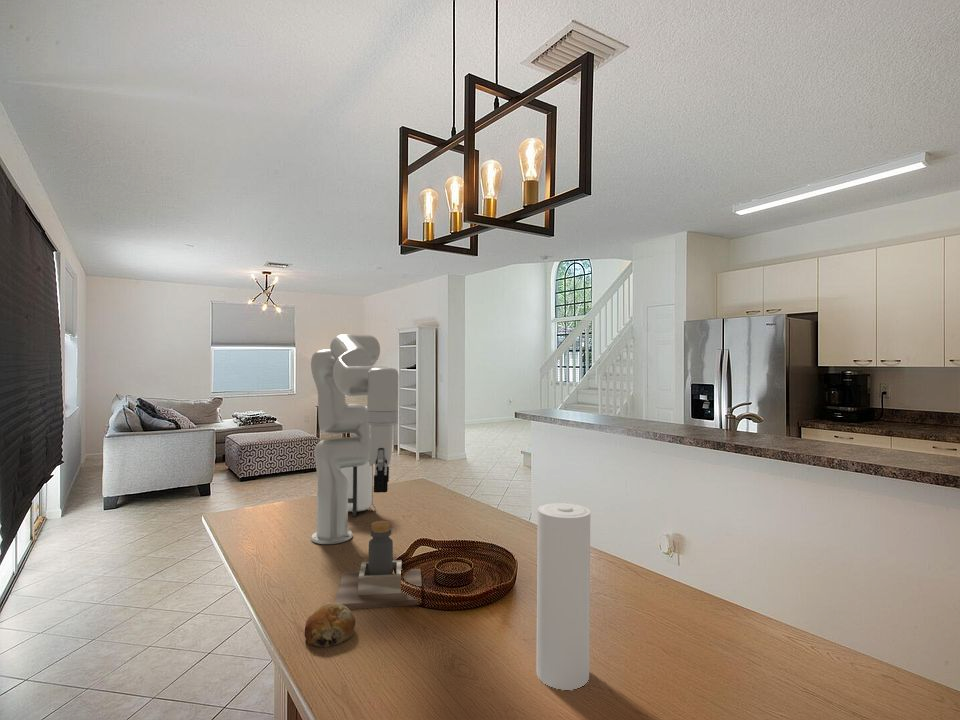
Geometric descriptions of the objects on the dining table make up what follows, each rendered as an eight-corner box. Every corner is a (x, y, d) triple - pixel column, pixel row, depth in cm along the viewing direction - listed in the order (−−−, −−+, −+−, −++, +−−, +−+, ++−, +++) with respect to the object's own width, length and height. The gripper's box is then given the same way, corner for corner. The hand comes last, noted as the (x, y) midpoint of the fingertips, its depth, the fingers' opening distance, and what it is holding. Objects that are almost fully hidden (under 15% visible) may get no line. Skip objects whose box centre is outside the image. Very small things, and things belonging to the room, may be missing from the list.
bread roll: (359, 649, 106) (368, 607, 110) (333, 651, 98) (344, 605, 101) (319, 640, 109) (329, 599, 113) (290, 642, 101) (301, 597, 104)
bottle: (387, 590, 123) (387, 527, 123) (364, 588, 124) (365, 526, 124) (395, 580, 129) (396, 520, 129) (373, 578, 130) (374, 519, 130)
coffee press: (335, 506, 199) (336, 429, 199) (377, 505, 201) (378, 429, 201) (327, 520, 182) (328, 435, 182) (373, 519, 184) (373, 435, 184)
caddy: (343, 576, 133) (343, 556, 133) (420, 573, 136) (420, 553, 136) (333, 609, 116) (334, 586, 116) (422, 604, 118) (423, 581, 119)
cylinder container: (532, 660, 97) (533, 500, 97) (580, 658, 97) (582, 500, 98) (542, 691, 87) (543, 515, 88) (596, 689, 88) (597, 514, 88)
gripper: (369, 414, 134) (368, 479, 134) (364, 422, 117) (363, 496, 117) (398, 414, 135) (397, 478, 135) (397, 422, 118) (396, 496, 118)
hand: (381, 487), depth 126 cm, fingers open, 9 cm apart
